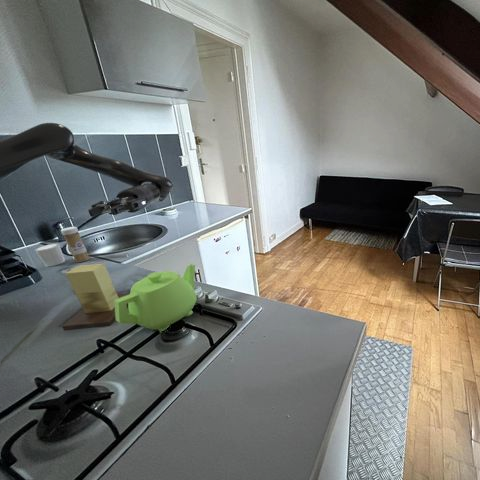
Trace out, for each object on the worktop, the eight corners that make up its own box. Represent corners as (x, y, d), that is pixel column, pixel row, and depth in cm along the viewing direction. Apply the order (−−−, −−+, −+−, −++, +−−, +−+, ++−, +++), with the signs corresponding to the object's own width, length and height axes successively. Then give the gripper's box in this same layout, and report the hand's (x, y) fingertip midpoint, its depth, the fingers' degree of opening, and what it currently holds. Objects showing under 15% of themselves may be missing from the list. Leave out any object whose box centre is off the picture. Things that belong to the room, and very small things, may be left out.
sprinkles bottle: (83, 262, 100) (68, 230, 95) (72, 263, 101) (56, 230, 95) (93, 257, 104) (79, 225, 99) (82, 257, 105) (68, 226, 100)
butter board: (63, 330, 64) (50, 305, 61) (100, 298, 76) (91, 277, 73) (110, 325, 65) (98, 301, 62) (139, 295, 77) (131, 274, 74)
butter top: (75, 294, 65) (65, 273, 63) (87, 285, 69) (78, 265, 67) (102, 291, 66) (92, 270, 63) (112, 283, 69) (104, 263, 67)
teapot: (187, 290, 77) (176, 252, 73) (218, 302, 71) (208, 261, 66) (112, 334, 61) (91, 288, 57) (143, 353, 55) (123, 304, 50)
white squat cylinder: (57, 259, 105) (49, 243, 102) (71, 259, 104) (64, 243, 101) (38, 267, 99) (29, 250, 96) (53, 267, 98) (44, 250, 95)
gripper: (110, 189, 87) (69, 201, 71) (154, 185, 87) (123, 197, 72) (118, 210, 89) (80, 227, 74) (161, 207, 90) (132, 223, 74)
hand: (101, 212), depth 73 cm, fingers open, 5 cm apart
